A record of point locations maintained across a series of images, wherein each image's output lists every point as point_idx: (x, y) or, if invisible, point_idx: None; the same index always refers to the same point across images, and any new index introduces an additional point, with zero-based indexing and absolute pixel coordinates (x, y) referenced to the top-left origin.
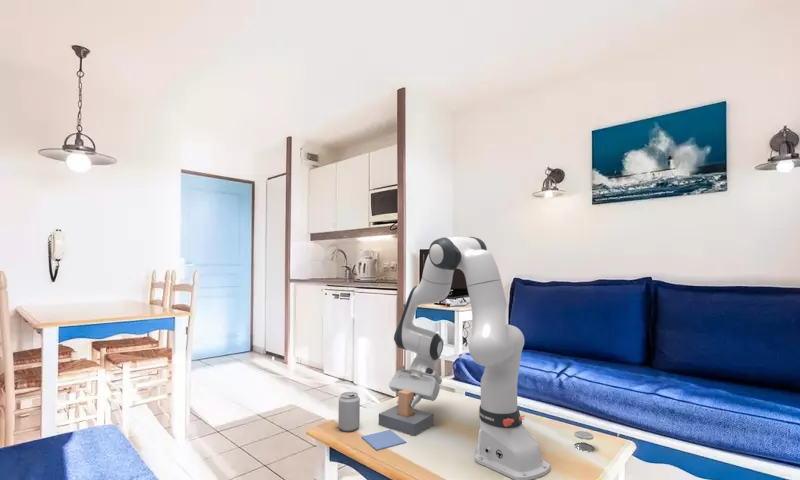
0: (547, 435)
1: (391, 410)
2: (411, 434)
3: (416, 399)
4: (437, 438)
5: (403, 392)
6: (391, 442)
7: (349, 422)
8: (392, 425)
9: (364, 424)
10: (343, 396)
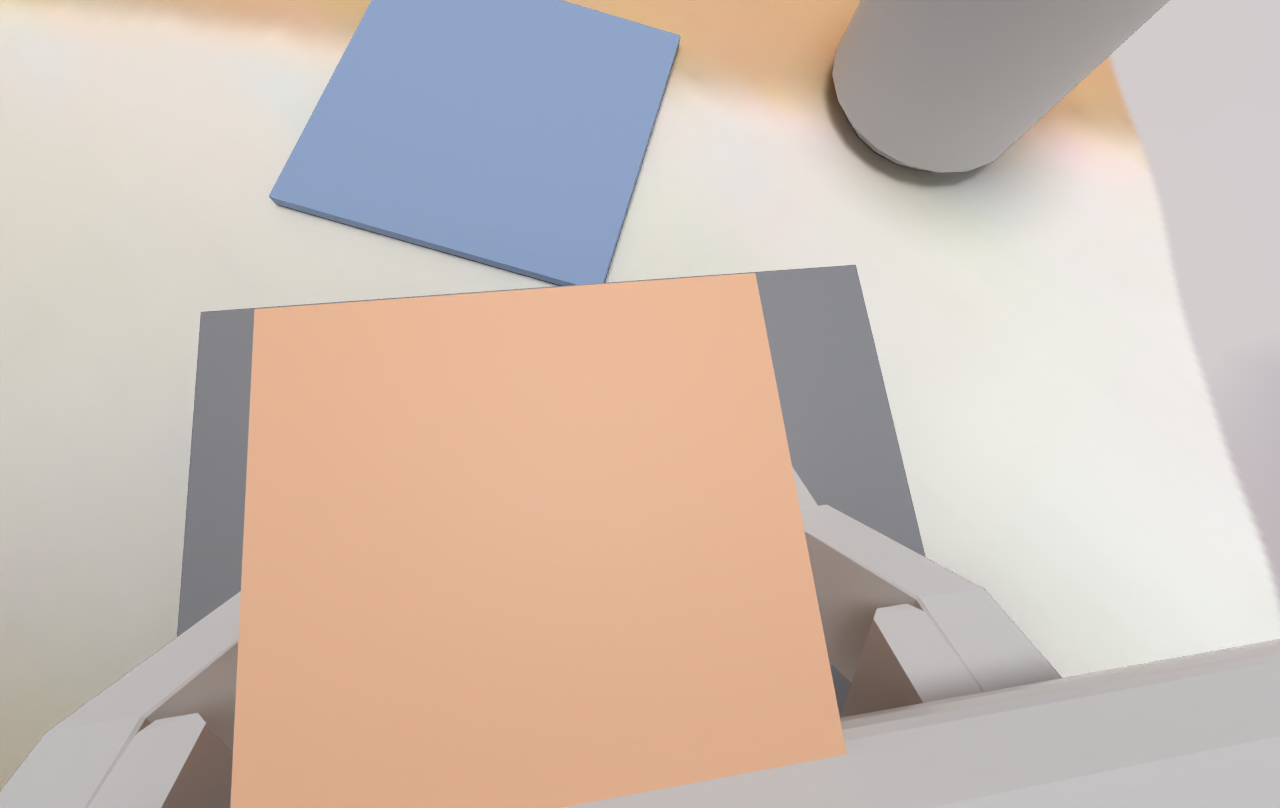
0: None
1: (838, 474)
2: None
3: (152, 663)
4: (21, 511)
5: (536, 353)
6: (379, 102)
7: None
8: None
9: (899, 243)
10: None
